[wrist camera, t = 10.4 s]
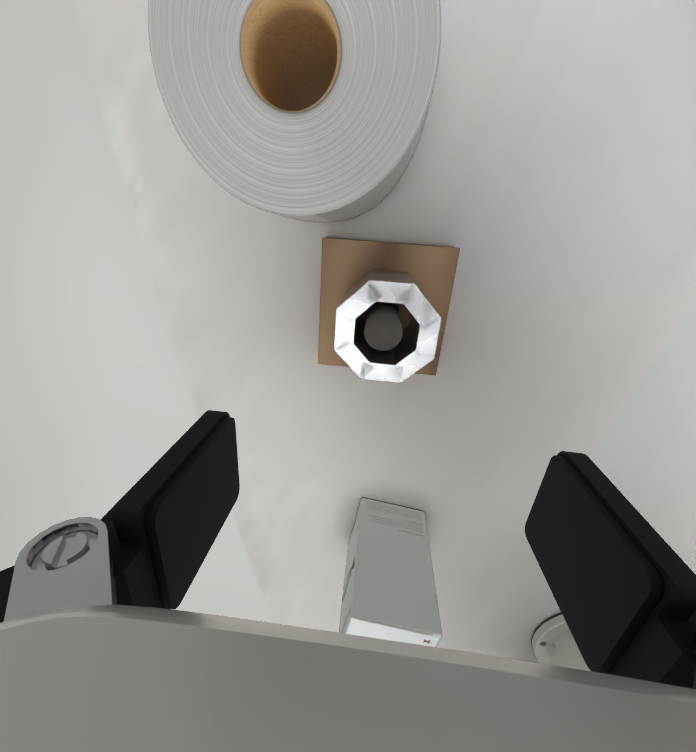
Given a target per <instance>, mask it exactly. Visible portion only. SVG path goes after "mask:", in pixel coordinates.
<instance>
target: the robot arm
mask: <svg viewBox="0 0 696 752" xmlns="http://www.w3.org/2000/svg"><path fill="white" fill-rule="evenodd" d="M238 494H239V473H238V458H237V443H236V428H235V420H234V418H230V416H229V413H227V412H220V411H211V410H208V411H207V412H205V413H204V414H203V415H202V416H201V417H200V418H199V420H198V421H197V422H196V423H195V424H194V425H193V426H192V427H191V428H190V429H189V430H188V431H187V432H186V433H185V434H184V435H183V436H182V437H181V438H180V439H179V440H178V441H177V442H176V443H175V444H174V445H173V446H172V447H171V448H170V449H169V450H168V451H167V452H166V453H165V454H164V455H163V456H162V457H161V459H159V460H158V462H156V463H155V465H154V466H153V467H152V468H151V469H150V470H149V471H148V472H147V473H146V474H145V475H144V476H143V477H142V478H141V479H140V480H139V481H138V482H137V483H136V484H135V485H134V486H133V487H132V488H131V489H130V490H129V491H128V492H127V493H126V494H125V495H124V496H123V497H122V498H121V499H120V500H119V501H118V502H117V503H116V504H115V505H114V507H113V508H112V509H111V510H110V511H109V512H108V513H107V514H106V515H105V516H104V517H103V518H102V519H101V520H99V519H96V518H92V517H82V518H75V519H70V520H66V521H64V522H61V523H59V524H56V525H54V526H52V527H50V528H48V529H47V530H45V531H43V532H41V533H39V534H38V535H37V536H36V537H34V538H33V539H32V540H31V541H29V542H28V543H27V544H26V546H25V547H24V548H23V549H22V550H21V552H20V553H19V556H18V558H17V560H16V563H15V566H12V567H10V568H7V569H5V570H2V571H0V752H696V575H695V574H694V573H693V571H692V570H691V569H690V568H689V567H688V566H687V565H686V564H685V563H684V562H683V560H682V559H681V558H680V557H679V556H678V555H677V554H676V553H675V552H674V551H673V549H672V548H671V547H670V546H669V545H668V544H667V543H666V542H665V541H664V540H663V539H662V537H661V536H660V535H659V534H658V533H657V532H656V531H655V530H654V529H653V528H652V526H651V525H650V524H649V523H648V522H647V521H646V520H645V519H644V518H643V517H642V515H641V514H640V513H639V512H638V511H637V510H636V509H635V508H634V507H633V506H632V504H631V503H630V502H629V501H628V500H627V499H626V498H625V497H624V496H623V495H622V493H621V492H620V491H619V490H618V489H617V488H616V487H615V486H614V485H613V484H612V482H611V481H610V480H609V479H608V478H607V477H606V476H605V475H604V474H603V473H602V472H601V470H600V469H599V468H598V467H597V466H596V465H595V464H594V463H593V462H592V461H591V459H590V458H589V457H588V456H587V455H585V454H582V453H574V452H565V451H562V452H560V453H558V455H557V456H556V455H555V456H553V457H552V458H551V460H550V462H549V465H548V467H547V470H546V473H545V475H544V478H543V480H542V483H541V485H540V488H539V491H538V493H537V496H536V498H535V501H534V504H533V506H532V509H531V511H530V514H529V516H528V519H527V522H526V525H525V534H526V537H527V540H528V542H529V544H530V546H531V548H532V550H533V553H534V555H535V557H536V559H537V561H538V563H539V565H540V568H541V570H542V572H543V574H544V576H545V578H546V580H547V582H548V585H549V587H550V589H551V591H552V593H553V595H554V597H555V600H556V602H557V604H558V606H559V608H560V610H561V612H562V614H561V615H558V616H556V617H554V618H552V619H550V620H548V621H547V622H545V623H544V624H542V625H541V626H540V627H539V628H538V629H537V631H536V632H535V634H534V636H533V639H532V648H533V651H534V654H535V656H536V658H537V660H538V662H539V663H535V662H528V661H522V660H515V659H509V658H503V657H496V656H490V655H483V654H477V653H470V652H464V651H457V650H450V649H444V648H437V647H431V646H424V645H417V644H411V643H404V642H397V641H391V640H384V639H377V638H371V637H364V636H357V635H351V634H344V633H337V632H330V631H323V630H316V629H310V628H303V627H296V626H289V625H282V624H275V623H268V622H261V621H254V620H247V619H240V618H233V617H227V616H219V615H210V614H203V613H195V612H187V611H179V610H171V609H176V608H177V607H178V606H179V605H180V603H181V601H182V599H183V597H184V596H185V594H186V592H187V590H188V588H189V586H190V585H191V583H192V581H193V579H194V577H195V576H196V574H197V572H198V570H199V568H200V566H201V564H202V563H203V561H204V559H205V557H206V555H207V553H208V551H209V550H210V548H211V546H212V544H213V542H214V541H215V539H216V537H217V535H218V533H219V531H220V529H221V528H222V526H223V524H224V522H225V520H226V518H227V517H228V515H229V513H230V511H231V509H232V507H233V506H234V504H235V502H236V500H237V498H238Z"/></svg>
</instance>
